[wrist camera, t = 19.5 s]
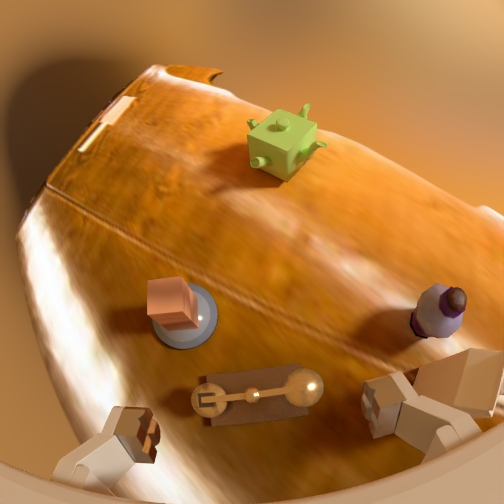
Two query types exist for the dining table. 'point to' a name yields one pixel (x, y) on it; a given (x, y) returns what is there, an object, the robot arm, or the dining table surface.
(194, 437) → the dining table surface
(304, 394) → the brass balance
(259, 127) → the kettle
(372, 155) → the dining table surface
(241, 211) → the dining table surface
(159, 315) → the terracotta block
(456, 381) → the milk carton
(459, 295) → the potion bottle
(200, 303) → the gray dish
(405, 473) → the robot arm
